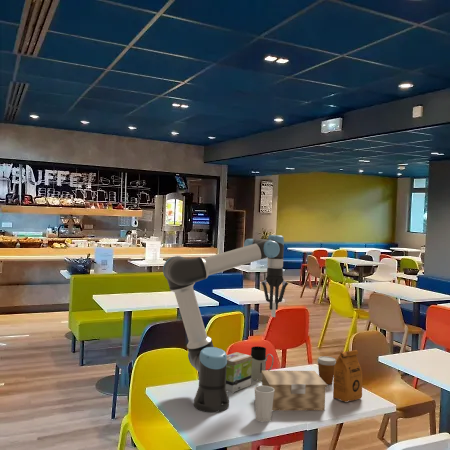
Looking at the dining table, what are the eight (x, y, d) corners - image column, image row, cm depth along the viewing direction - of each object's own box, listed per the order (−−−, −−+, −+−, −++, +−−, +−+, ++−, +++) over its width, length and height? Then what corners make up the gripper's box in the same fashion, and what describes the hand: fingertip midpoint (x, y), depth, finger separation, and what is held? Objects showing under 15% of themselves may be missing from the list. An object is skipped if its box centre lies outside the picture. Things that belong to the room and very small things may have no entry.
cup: (257, 423, 185) (258, 393, 185) (250, 415, 192) (251, 386, 192) (276, 421, 187) (277, 391, 187) (268, 413, 195) (270, 385, 195)
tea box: (233, 393, 216) (234, 361, 216) (216, 388, 222) (217, 357, 222) (251, 385, 228) (252, 355, 228) (234, 380, 234) (236, 351, 234)
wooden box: (269, 410, 198) (270, 386, 198) (261, 394, 216) (262, 373, 216) (324, 410, 200) (325, 387, 200) (312, 394, 218) (313, 373, 218)
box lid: (269, 393, 197) (269, 384, 197) (261, 378, 216) (261, 370, 216) (327, 393, 200) (327, 384, 200) (314, 379, 218) (314, 370, 218)
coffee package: (365, 400, 214) (367, 352, 214) (345, 405, 208) (347, 355, 207) (349, 393, 222) (351, 346, 222) (329, 397, 216) (331, 349, 216)
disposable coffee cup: (313, 379, 240) (313, 356, 240) (329, 378, 243) (330, 355, 242) (322, 386, 231) (323, 361, 231) (339, 385, 233) (340, 360, 233)
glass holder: (256, 373, 246) (257, 345, 246) (277, 380, 236) (279, 351, 236) (245, 377, 240) (246, 347, 240) (266, 384, 230) (267, 354, 230)
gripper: (286, 267, 230) (284, 315, 230) (260, 266, 228) (258, 314, 228) (290, 268, 222) (288, 318, 222) (263, 267, 221) (261, 317, 221)
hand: (273, 316), depth 225 cm, fingers closed
